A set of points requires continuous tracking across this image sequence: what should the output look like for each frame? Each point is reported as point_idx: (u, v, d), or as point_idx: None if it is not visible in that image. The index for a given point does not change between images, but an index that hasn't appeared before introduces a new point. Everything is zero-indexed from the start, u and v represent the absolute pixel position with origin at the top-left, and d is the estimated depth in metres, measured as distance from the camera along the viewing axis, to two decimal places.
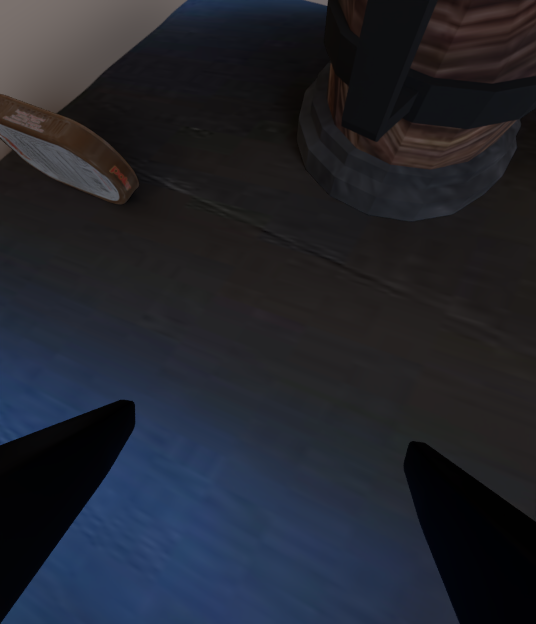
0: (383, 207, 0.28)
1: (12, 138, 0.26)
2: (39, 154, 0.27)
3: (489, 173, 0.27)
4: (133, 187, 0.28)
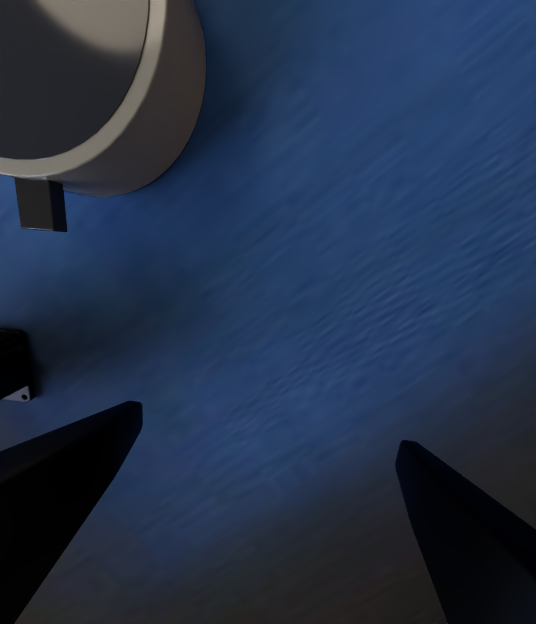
0: None
1: None
2: None
3: None
4: None
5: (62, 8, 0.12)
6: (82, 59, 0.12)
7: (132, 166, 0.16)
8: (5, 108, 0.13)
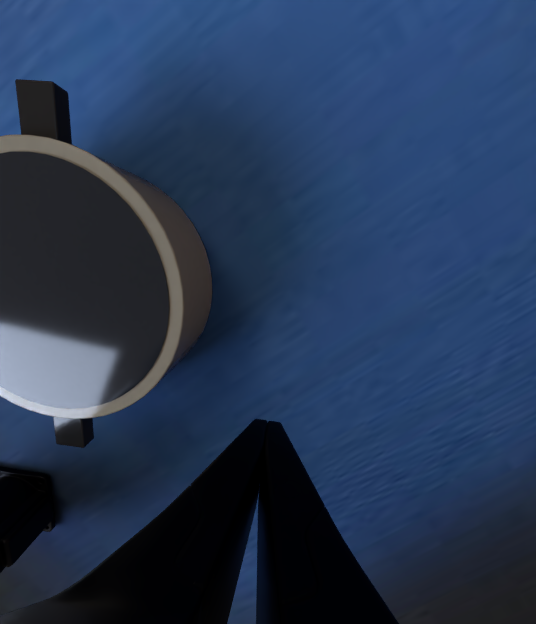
0: None
1: None
2: None
3: None
4: None
5: (98, 315, 0.15)
6: (113, 346, 0.15)
7: None
8: (48, 373, 0.16)
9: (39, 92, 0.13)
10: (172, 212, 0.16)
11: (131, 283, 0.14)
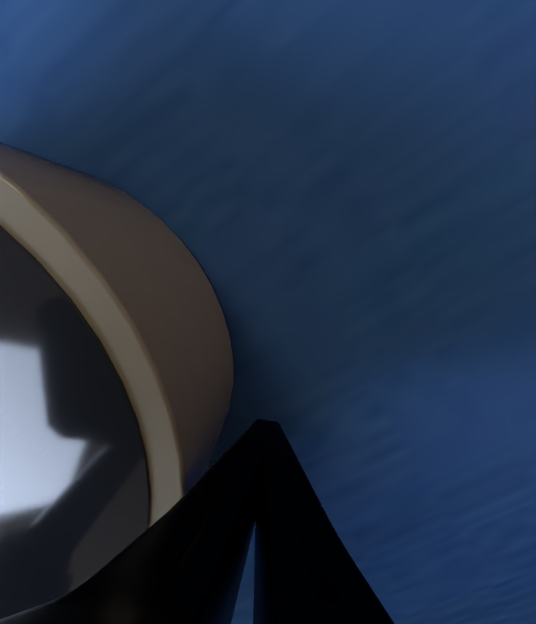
0: None
1: None
2: None
3: None
4: None
5: None
6: (28, 556, 0.07)
7: None
8: None
9: None
10: (159, 254, 0.08)
11: (58, 439, 0.06)
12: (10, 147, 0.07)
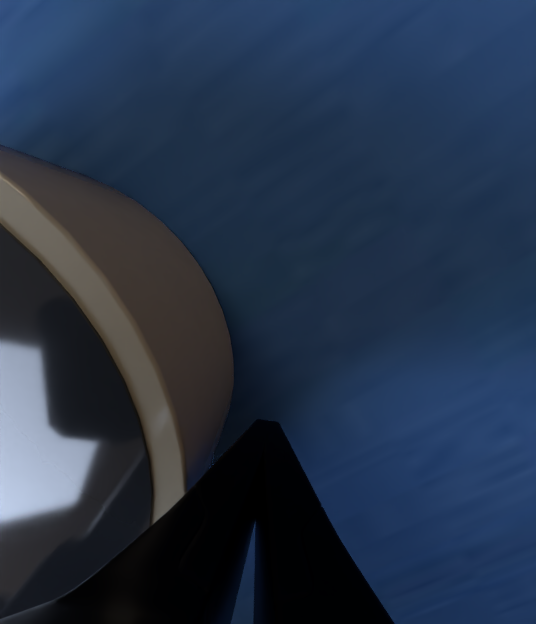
0: None
1: None
2: None
3: None
4: None
5: None
6: (32, 555, 0.07)
7: None
8: None
9: None
10: (159, 255, 0.08)
11: (61, 437, 0.06)
12: (12, 150, 0.07)
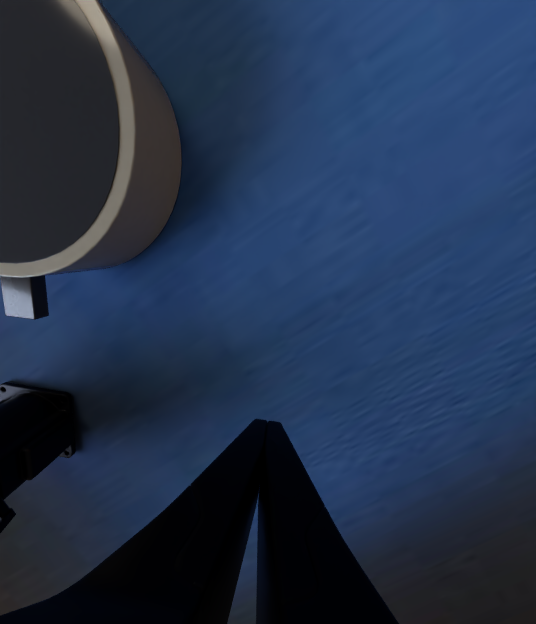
0: None
1: None
2: None
3: None
4: None
5: (41, 141, 0.13)
6: (59, 183, 0.14)
7: (109, 258, 0.17)
8: None
9: None
10: (130, 41, 0.14)
11: (76, 99, 0.13)
12: None
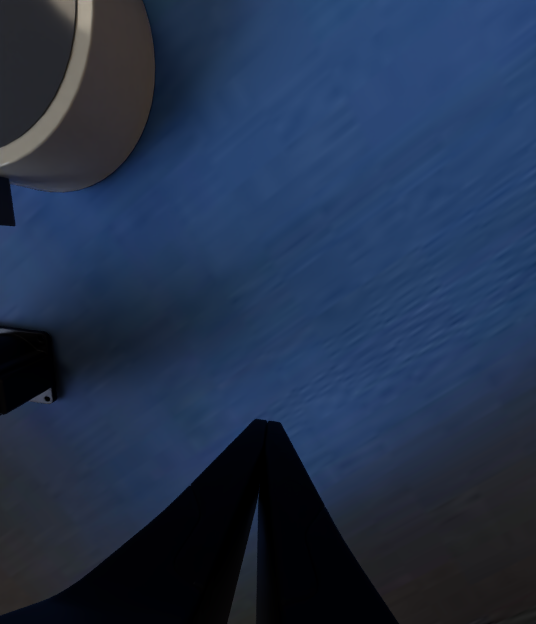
0: None
1: None
2: None
3: None
4: None
5: None
6: (15, 54, 0.13)
7: (78, 161, 0.16)
8: None
9: None
10: None
11: None
12: None
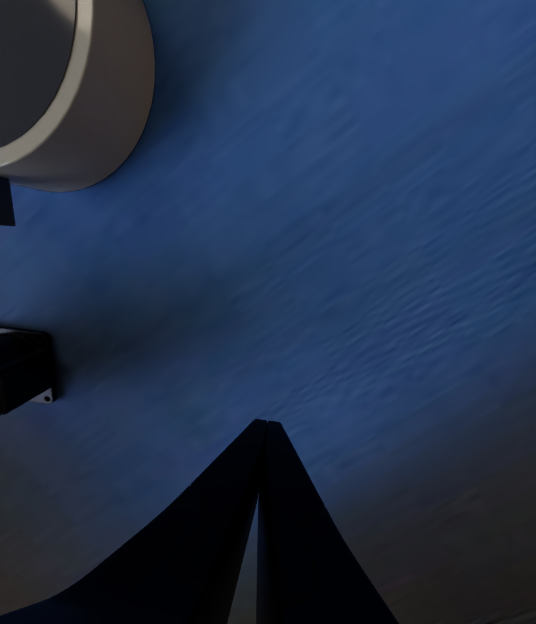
0: None
1: None
2: None
3: None
4: None
5: None
6: (15, 54, 0.13)
7: (78, 161, 0.16)
8: None
9: None
10: None
11: None
12: None
